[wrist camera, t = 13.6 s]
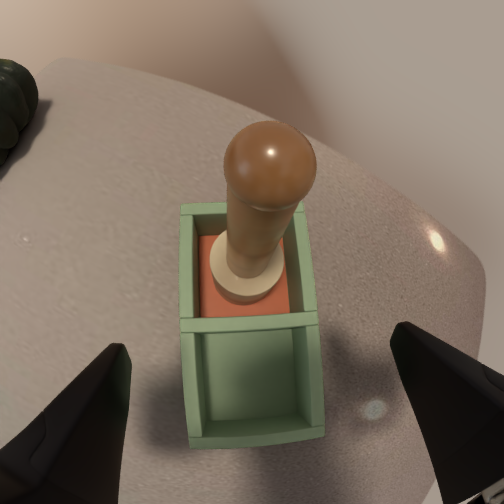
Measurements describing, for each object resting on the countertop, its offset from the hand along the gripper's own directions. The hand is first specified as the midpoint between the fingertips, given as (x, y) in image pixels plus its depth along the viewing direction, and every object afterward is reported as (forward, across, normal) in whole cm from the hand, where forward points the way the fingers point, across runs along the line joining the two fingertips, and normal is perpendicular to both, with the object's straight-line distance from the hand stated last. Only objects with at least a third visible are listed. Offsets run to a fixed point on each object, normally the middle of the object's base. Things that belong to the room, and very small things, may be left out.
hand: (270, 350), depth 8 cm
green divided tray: (+8, 0, +6) cm, 10 cm away
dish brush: (+10, 0, +3) cm, 11 cm away
